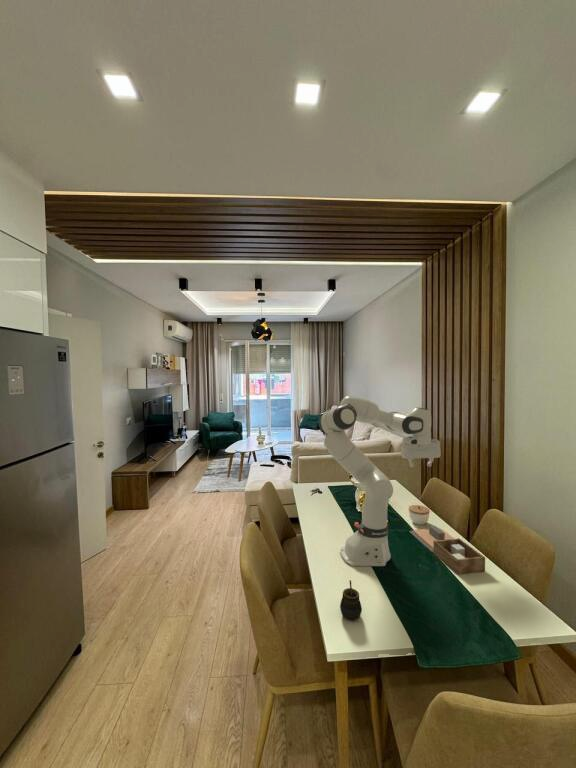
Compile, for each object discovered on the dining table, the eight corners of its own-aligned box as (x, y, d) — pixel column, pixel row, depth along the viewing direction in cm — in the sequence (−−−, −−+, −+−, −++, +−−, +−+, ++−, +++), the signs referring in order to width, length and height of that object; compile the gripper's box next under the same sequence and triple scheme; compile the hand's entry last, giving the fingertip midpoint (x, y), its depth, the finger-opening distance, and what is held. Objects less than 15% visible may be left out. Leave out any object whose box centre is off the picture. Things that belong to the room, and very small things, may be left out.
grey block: (456, 558, 145) (456, 549, 145) (450, 553, 149) (450, 544, 149) (464, 557, 146) (464, 548, 146) (458, 552, 150) (458, 544, 150)
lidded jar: (424, 518, 187) (425, 502, 187) (432, 527, 176) (432, 509, 176) (405, 518, 187) (406, 501, 187) (412, 526, 177) (412, 509, 176)
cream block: (457, 568, 138) (457, 559, 137) (451, 563, 142) (451, 554, 141) (465, 567, 138) (465, 558, 138) (459, 562, 142) (459, 553, 142)
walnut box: (456, 574, 135) (457, 560, 135) (433, 553, 151) (433, 540, 150) (484, 571, 137) (485, 557, 137) (458, 551, 153) (459, 538, 153)
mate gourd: (342, 624, 108) (342, 594, 108) (338, 608, 116) (337, 580, 116) (364, 623, 109) (364, 593, 109) (358, 607, 116) (358, 579, 116)
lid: (433, 550, 153) (433, 539, 152) (412, 531, 170) (412, 522, 170) (462, 547, 155) (462, 536, 155) (439, 529, 173) (439, 520, 173)
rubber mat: (432, 552, 152) (432, 551, 152) (409, 531, 171) (409, 531, 171) (467, 548, 155) (467, 548, 155) (440, 529, 174) (440, 528, 174)
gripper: (436, 437, 171) (435, 464, 172) (399, 438, 168) (399, 465, 168) (443, 440, 165) (443, 467, 165) (406, 441, 162) (405, 469, 162)
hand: (420, 466), depth 167 cm, fingers open, 8 cm apart
